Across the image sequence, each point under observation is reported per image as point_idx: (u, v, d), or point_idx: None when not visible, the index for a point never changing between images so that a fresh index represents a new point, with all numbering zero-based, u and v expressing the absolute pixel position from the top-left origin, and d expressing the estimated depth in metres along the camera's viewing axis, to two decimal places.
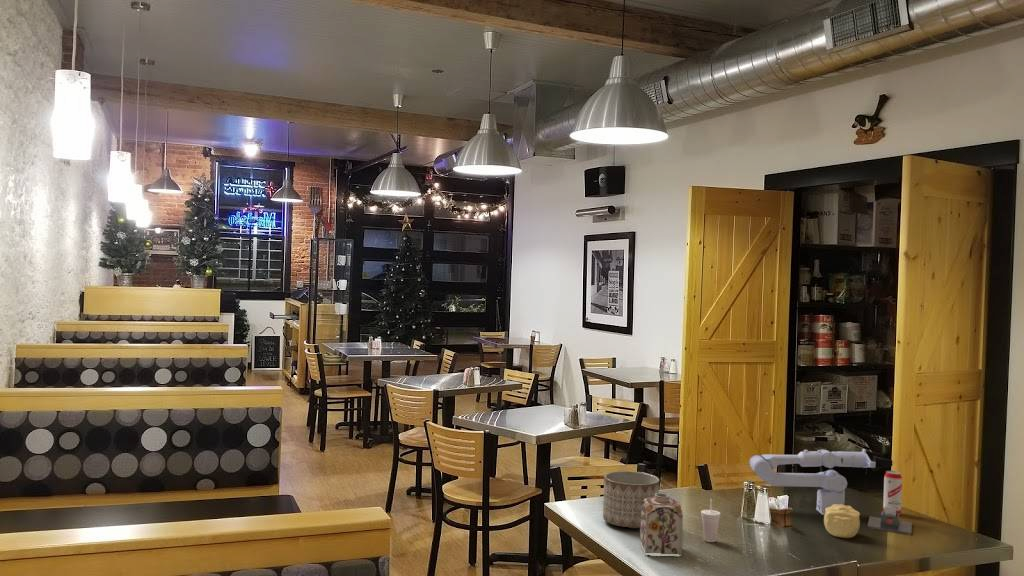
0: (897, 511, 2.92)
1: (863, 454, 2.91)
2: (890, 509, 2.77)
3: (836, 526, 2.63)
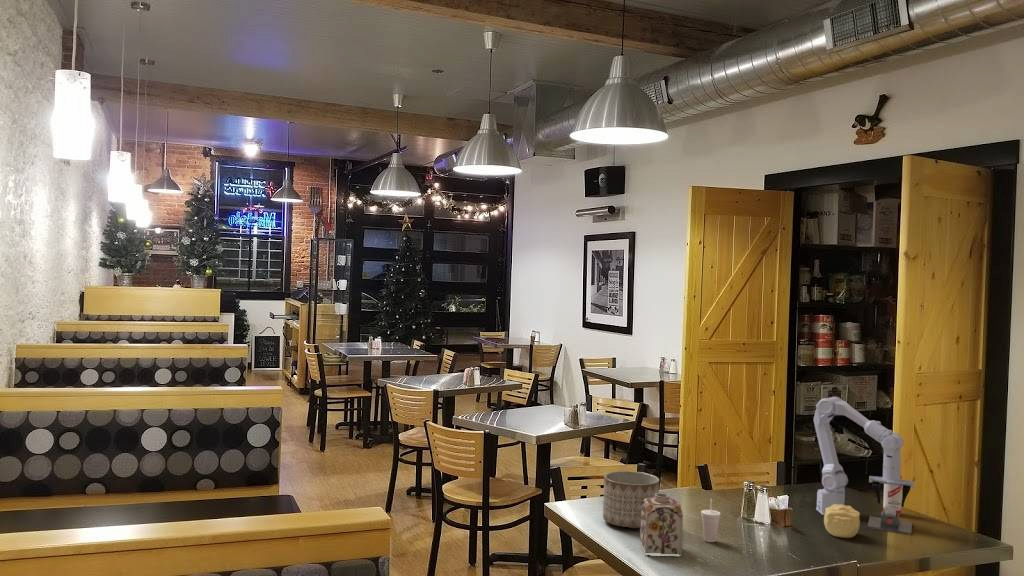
0: (897, 511, 2.92)
1: (886, 478, 2.77)
2: (890, 509, 2.77)
3: (836, 526, 2.63)
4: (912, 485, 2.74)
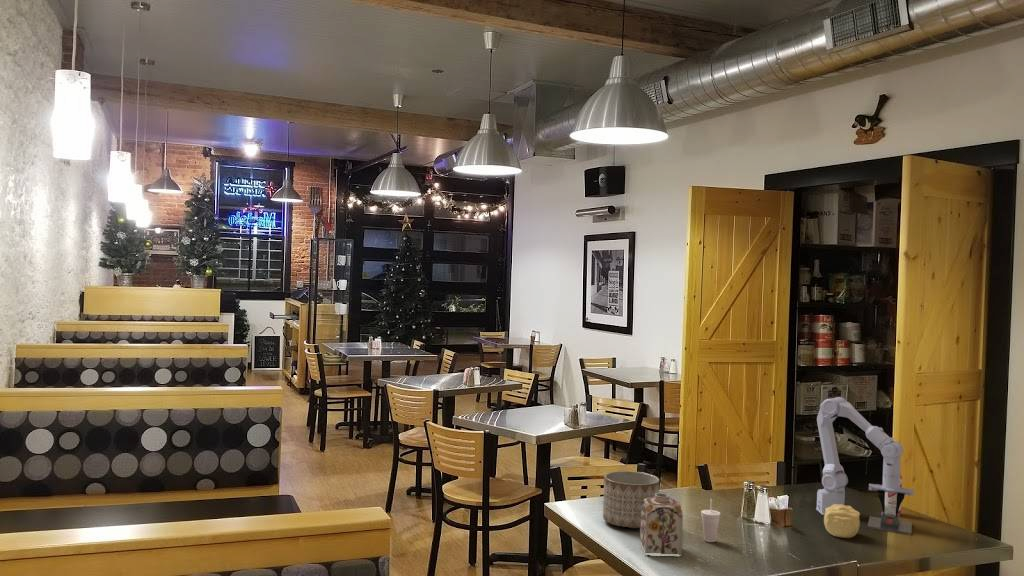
0: None
1: (886, 486, 2.77)
2: (890, 509, 2.77)
3: (836, 526, 2.63)
4: (912, 493, 2.75)
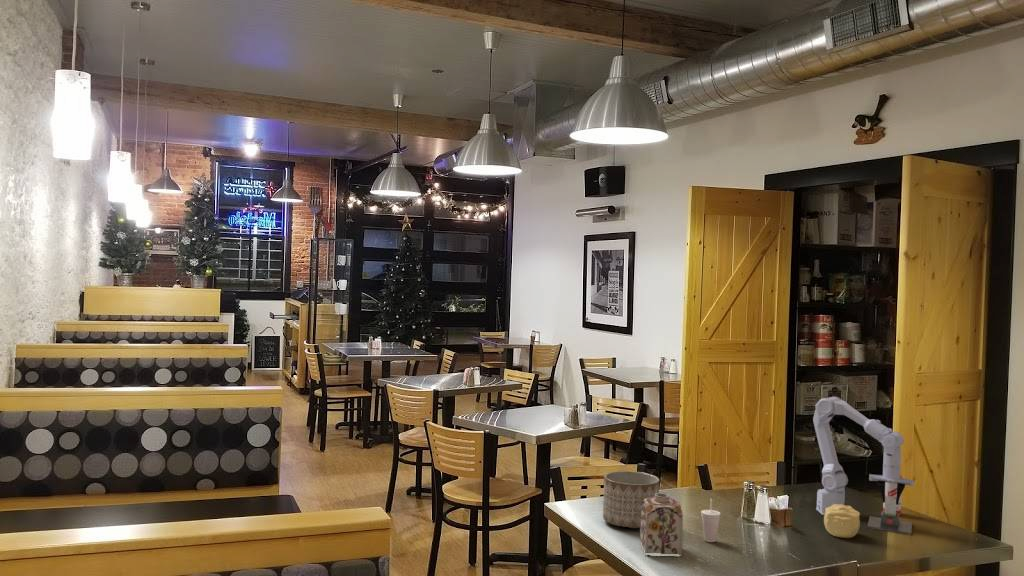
0: (897, 511, 2.92)
1: (886, 477, 2.77)
2: (890, 500, 2.77)
3: (836, 526, 2.63)
4: (912, 483, 2.75)
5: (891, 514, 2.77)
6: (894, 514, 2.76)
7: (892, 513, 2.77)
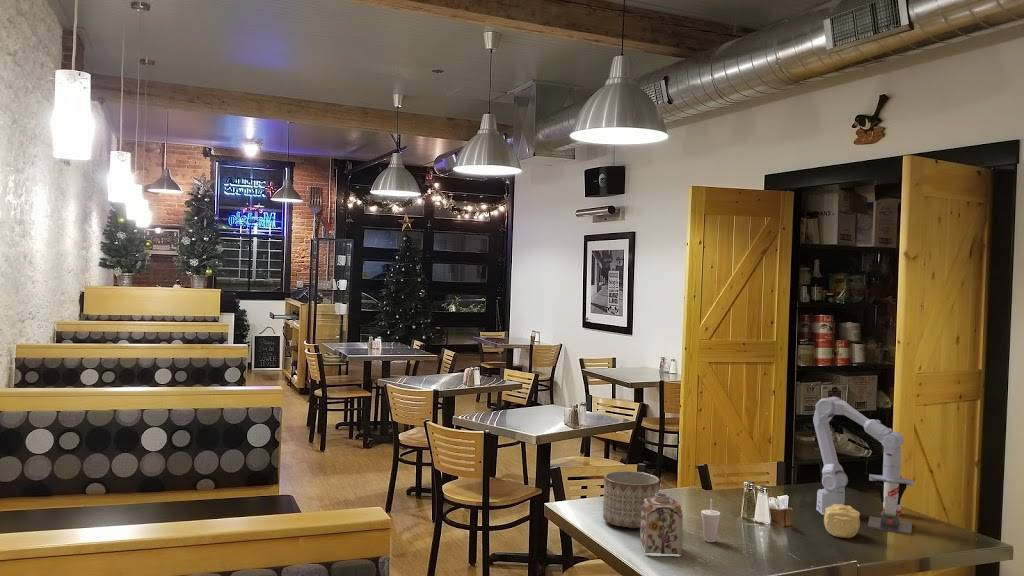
0: (897, 511, 2.92)
1: (886, 477, 2.77)
2: (890, 500, 2.77)
3: (836, 526, 2.63)
4: (912, 483, 2.74)
5: (891, 514, 2.77)
6: (894, 514, 2.76)
7: (892, 513, 2.77)
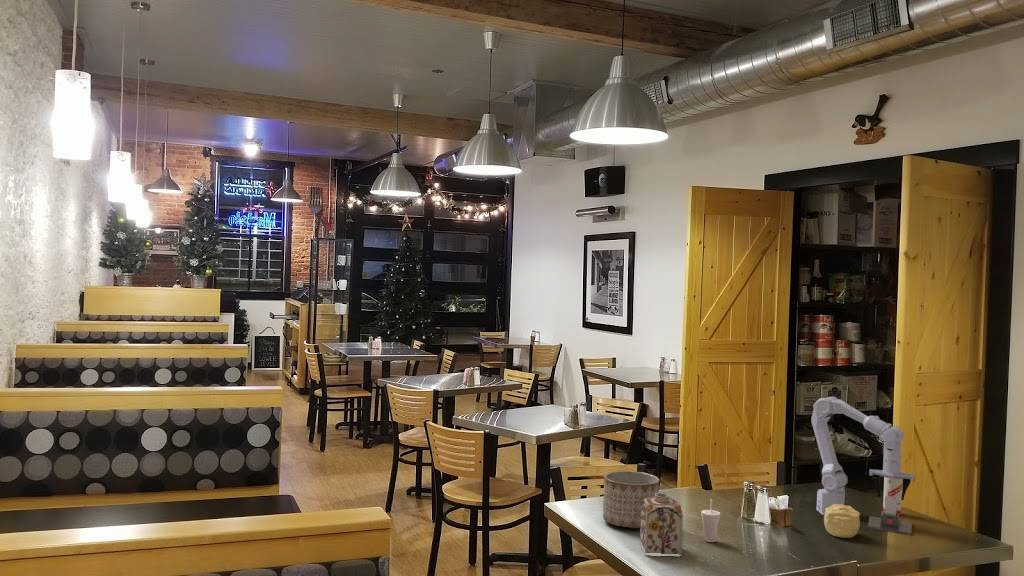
0: (897, 511, 2.92)
1: (886, 472, 2.78)
2: (890, 500, 2.77)
3: (836, 526, 2.63)
4: (912, 478, 2.75)
5: (891, 514, 2.77)
6: (894, 514, 2.76)
7: (892, 513, 2.77)
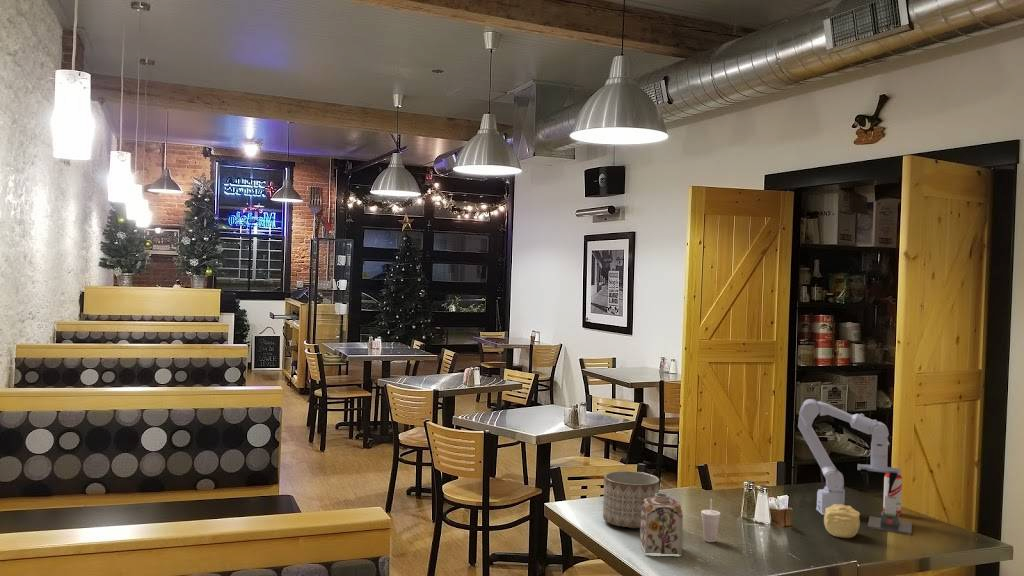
0: (897, 511, 2.92)
1: (874, 466, 2.86)
2: (890, 500, 2.77)
3: (836, 526, 2.63)
4: (899, 472, 2.83)
5: (891, 514, 2.77)
6: (894, 514, 2.76)
7: (892, 513, 2.77)
